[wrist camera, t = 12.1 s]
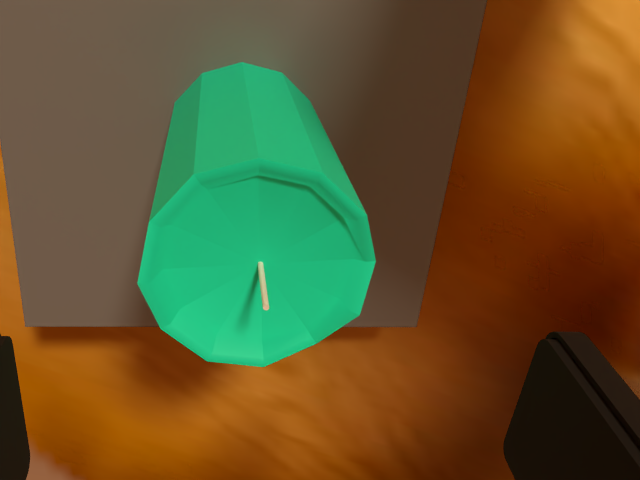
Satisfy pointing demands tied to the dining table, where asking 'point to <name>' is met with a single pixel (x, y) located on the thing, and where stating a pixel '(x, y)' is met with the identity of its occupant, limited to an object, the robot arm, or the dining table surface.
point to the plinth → (155, 116)
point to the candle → (252, 223)
